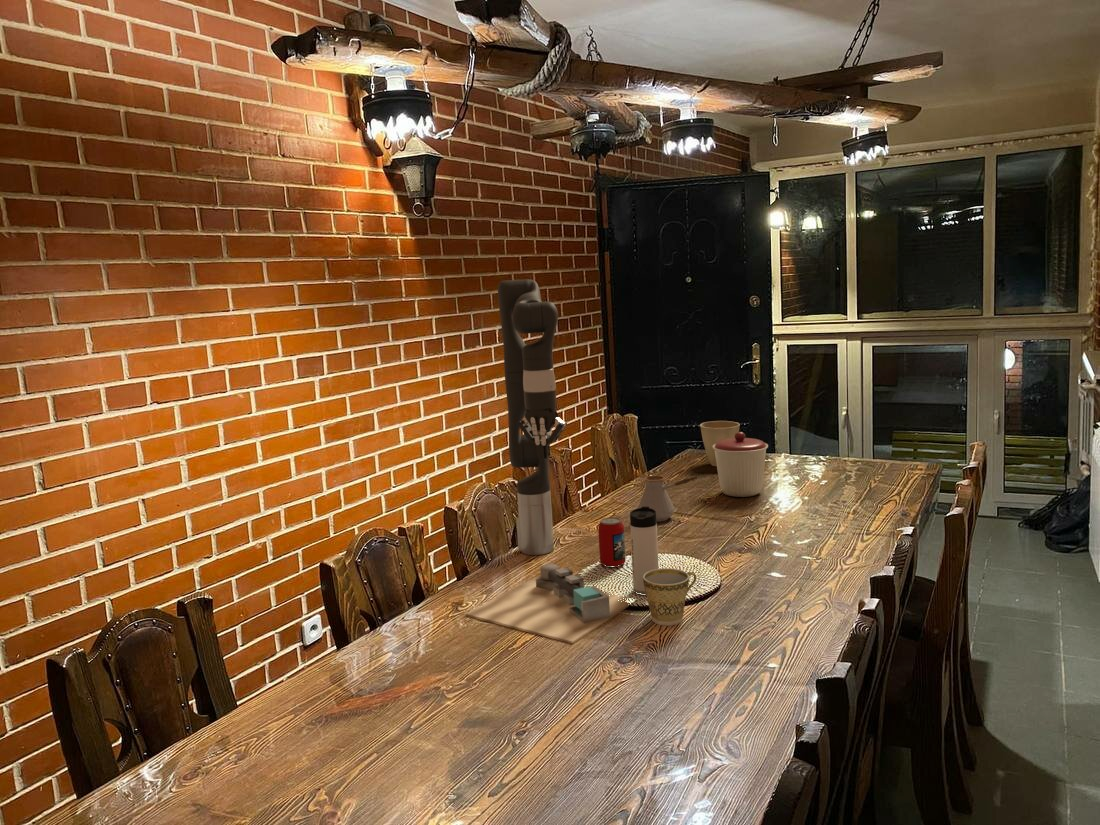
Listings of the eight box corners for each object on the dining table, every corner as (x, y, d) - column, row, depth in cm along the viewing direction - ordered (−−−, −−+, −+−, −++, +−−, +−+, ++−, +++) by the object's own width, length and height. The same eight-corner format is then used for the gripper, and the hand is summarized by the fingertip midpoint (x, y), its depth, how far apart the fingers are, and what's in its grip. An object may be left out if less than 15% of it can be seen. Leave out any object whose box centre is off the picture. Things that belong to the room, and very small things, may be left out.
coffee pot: (630, 520, 253) (628, 473, 250) (649, 511, 262) (647, 465, 259) (693, 530, 240) (691, 480, 237) (710, 519, 249) (709, 471, 246)
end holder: (569, 612, 185) (568, 591, 184) (595, 605, 187) (594, 585, 187) (584, 623, 178) (582, 602, 177) (610, 617, 181) (609, 596, 180)
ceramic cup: (662, 633, 172) (660, 588, 171) (635, 617, 181) (633, 574, 179) (711, 618, 178) (709, 574, 176) (683, 604, 187) (681, 562, 185)
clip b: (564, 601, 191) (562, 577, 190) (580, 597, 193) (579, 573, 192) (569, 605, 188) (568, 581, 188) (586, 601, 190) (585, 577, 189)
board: (465, 615, 188) (464, 605, 187) (534, 579, 208) (534, 569, 208) (572, 643, 170) (572, 632, 169) (636, 600, 190) (636, 590, 190)
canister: (776, 489, 278) (774, 428, 275) (758, 502, 263) (757, 438, 260) (725, 484, 288) (723, 426, 285) (705, 497, 273) (703, 435, 270)
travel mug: (662, 586, 198) (658, 506, 195) (656, 596, 192) (653, 514, 189) (636, 584, 200) (633, 505, 197) (630, 595, 194) (626, 513, 191)
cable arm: (538, 577, 203) (537, 563, 202) (554, 574, 204) (553, 560, 204) (583, 612, 180) (582, 597, 179) (601, 608, 181) (600, 593, 181)
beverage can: (624, 568, 211) (622, 524, 210) (598, 568, 213) (596, 524, 211) (627, 559, 218) (625, 516, 216) (602, 559, 219) (599, 516, 217)
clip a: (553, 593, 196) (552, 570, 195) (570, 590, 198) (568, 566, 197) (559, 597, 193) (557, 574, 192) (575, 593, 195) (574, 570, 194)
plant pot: (701, 469, 312) (700, 428, 310) (701, 460, 327) (699, 421, 324) (741, 468, 310) (740, 427, 307) (739, 459, 324) (738, 420, 322)
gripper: (507, 389, 192) (512, 461, 195) (556, 391, 185) (560, 465, 188) (523, 384, 198) (528, 454, 201) (572, 386, 192) (576, 457, 195)
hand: (544, 459), depth 195 cm, fingers closed
